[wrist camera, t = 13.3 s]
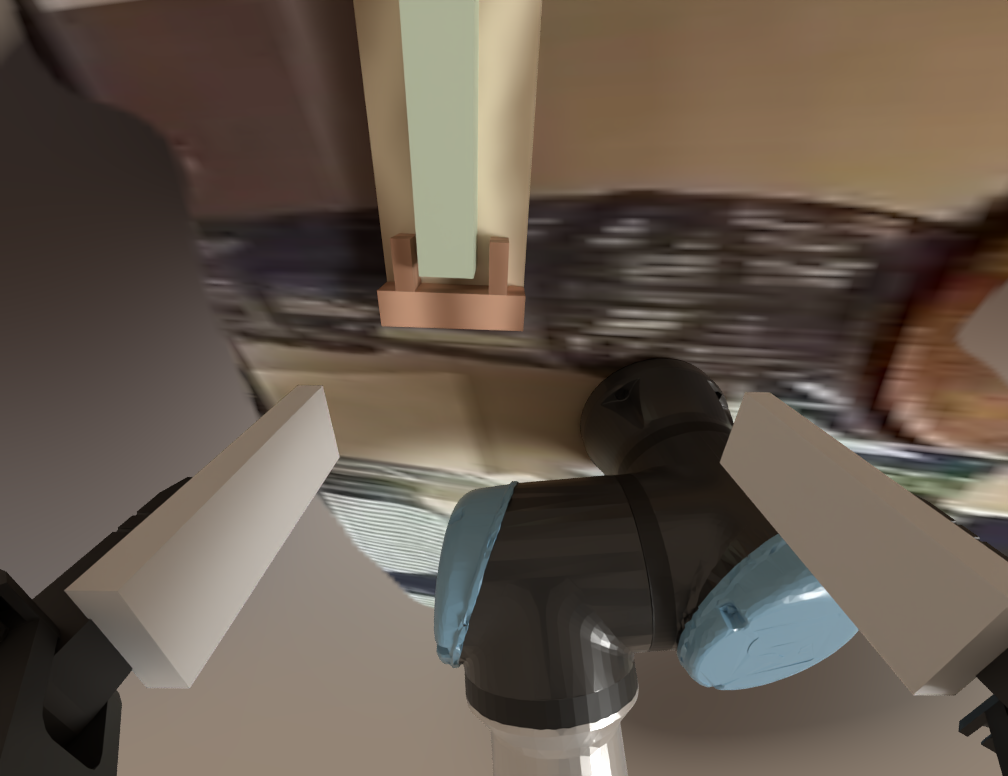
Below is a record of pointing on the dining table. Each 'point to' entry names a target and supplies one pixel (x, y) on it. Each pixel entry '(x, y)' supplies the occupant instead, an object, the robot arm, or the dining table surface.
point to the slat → (443, 131)
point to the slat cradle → (501, 169)
